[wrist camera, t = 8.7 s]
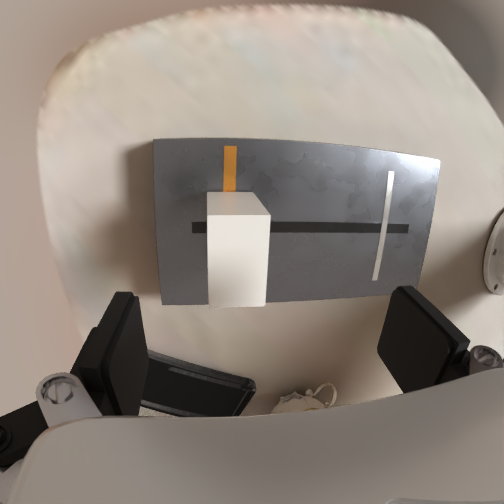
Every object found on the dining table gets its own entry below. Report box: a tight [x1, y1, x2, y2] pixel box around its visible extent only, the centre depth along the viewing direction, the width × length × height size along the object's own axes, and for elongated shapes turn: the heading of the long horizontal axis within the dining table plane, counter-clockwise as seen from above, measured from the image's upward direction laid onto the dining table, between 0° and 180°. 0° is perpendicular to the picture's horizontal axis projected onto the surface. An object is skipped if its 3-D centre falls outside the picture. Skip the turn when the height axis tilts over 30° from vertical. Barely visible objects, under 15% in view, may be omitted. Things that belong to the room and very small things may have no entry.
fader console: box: [153, 138, 440, 305], centre depth 24 cm, size 22×12×3 cm, turn 88°
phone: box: [140, 349, 256, 417], centre depth 30 cm, size 8×1×15 cm
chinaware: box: [270, 383, 337, 414], centre depth 30 cm, size 28×17×17 cm, turn 170°
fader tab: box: [207, 192, 271, 308], centre depth 19 cm, size 3×5×6 cm, turn 178°
